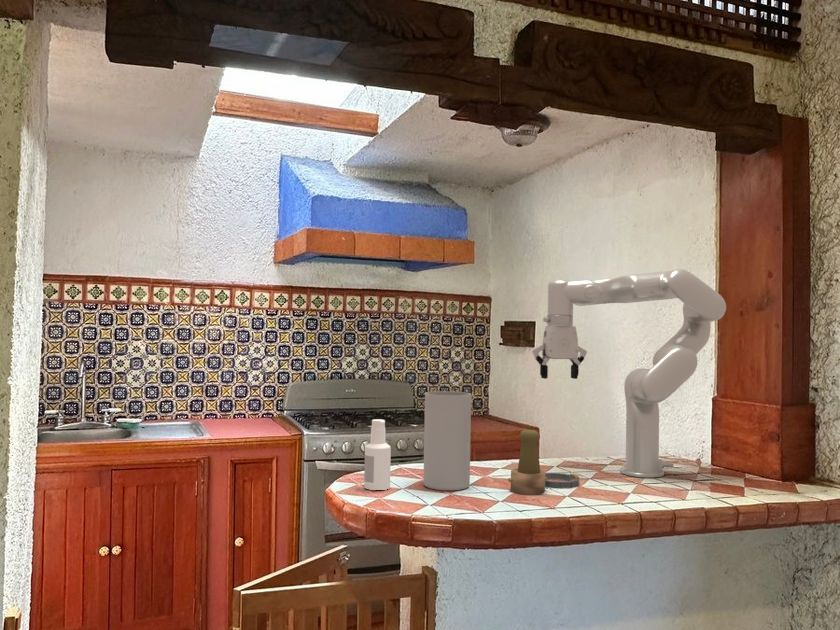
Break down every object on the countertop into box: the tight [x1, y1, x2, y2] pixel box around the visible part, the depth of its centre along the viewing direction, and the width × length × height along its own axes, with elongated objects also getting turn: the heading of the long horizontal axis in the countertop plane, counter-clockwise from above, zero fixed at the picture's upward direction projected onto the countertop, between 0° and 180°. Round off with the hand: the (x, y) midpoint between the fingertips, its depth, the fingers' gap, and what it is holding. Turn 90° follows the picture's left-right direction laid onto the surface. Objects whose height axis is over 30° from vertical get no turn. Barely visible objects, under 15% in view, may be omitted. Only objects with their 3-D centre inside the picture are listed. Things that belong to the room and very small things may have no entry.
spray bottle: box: [363, 418, 392, 491], centre depth 182 cm, size 7×7×18 cm
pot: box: [507, 468, 548, 496], centre depth 182 cm, size 11×9×5 cm
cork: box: [517, 429, 541, 474], centre depth 183 cm, size 6×6×11 cm
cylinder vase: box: [422, 390, 472, 492], centre depth 186 cm, size 12×12×25 cm
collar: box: [545, 472, 580, 489], centre depth 192 cm, size 12×12×2 cm
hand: (559, 378), depth 207 cm, fingers open, 9 cm apart
